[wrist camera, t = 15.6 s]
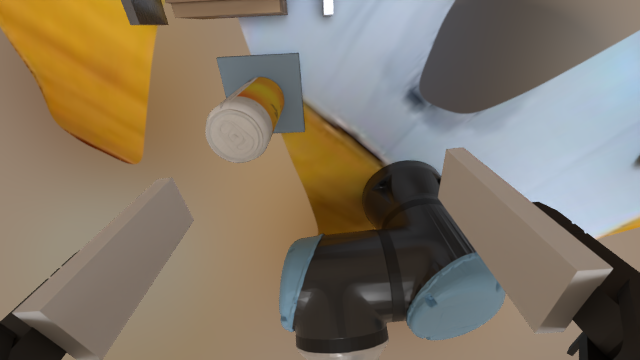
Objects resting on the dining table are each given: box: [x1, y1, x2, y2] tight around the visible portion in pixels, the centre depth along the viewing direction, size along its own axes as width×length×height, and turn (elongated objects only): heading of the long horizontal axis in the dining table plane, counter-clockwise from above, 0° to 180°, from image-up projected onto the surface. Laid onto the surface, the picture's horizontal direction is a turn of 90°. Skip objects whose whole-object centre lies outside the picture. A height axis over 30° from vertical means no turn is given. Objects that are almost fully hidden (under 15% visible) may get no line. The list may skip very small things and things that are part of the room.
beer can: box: [206, 77, 284, 163], centre depth 29 cm, size 6×6×15 cm
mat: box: [217, 53, 305, 133], centre depth 36 cm, size 11×11×1 cm
